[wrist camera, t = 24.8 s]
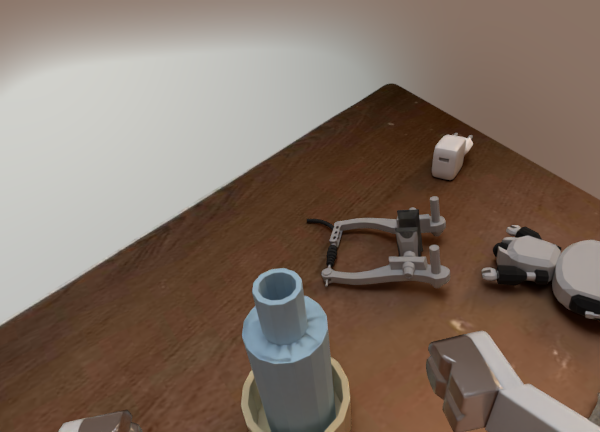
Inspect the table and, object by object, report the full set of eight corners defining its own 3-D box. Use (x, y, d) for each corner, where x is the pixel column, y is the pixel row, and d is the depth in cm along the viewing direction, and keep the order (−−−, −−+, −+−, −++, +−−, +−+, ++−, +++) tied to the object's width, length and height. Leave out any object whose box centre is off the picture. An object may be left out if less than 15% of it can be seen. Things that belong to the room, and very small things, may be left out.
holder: (247, 480, 32) (235, 452, 29) (256, 378, 39) (247, 348, 36) (356, 474, 32) (355, 446, 29) (345, 373, 39) (343, 342, 36)
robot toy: (473, 295, 46) (635, 354, 37) (476, 266, 44) (651, 321, 35) (506, 239, 53) (648, 276, 44) (510, 211, 51) (662, 245, 42)
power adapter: (447, 149, 74) (451, 120, 70) (474, 154, 71) (480, 124, 68) (426, 177, 67) (430, 145, 63) (456, 183, 64) (461, 151, 61)
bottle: (267, 456, 33) (224, 327, 23) (271, 388, 38) (236, 258, 28) (338, 451, 33) (326, 319, 23) (333, 384, 37) (320, 251, 28)
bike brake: (448, 227, 54) (311, 231, 61) (446, 185, 50) (300, 195, 57) (451, 303, 44) (286, 297, 51) (448, 258, 40) (271, 259, 47)
